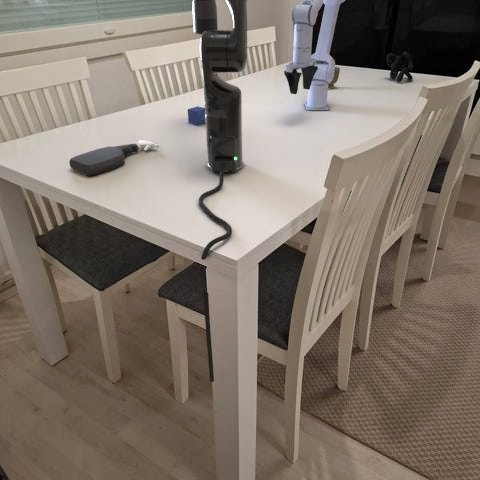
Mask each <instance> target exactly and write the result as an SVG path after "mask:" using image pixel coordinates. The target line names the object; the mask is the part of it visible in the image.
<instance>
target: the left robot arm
mask: <svg viewBox="0 0 480 480" xmlns="http://www.w3.org/2000/svg"><path fill="white" fill-rule="evenodd" d="M191 2H192V3H191V4H192V5H191V13H192V27H193V33H194V34H195V35H200V39H199V57H200V64H201V65H200V66H201V75H202V76H201V77H202V85H203V87H202V89H203V98H204V100H203V101H204V108H205V118H206V123H205V133H206V134H205V135H206V151H207V152H206V153H207V168H208V169H209V170H211V172H212V173H219V183H218V184H217V186H216V187H214V188H212V189H209V190H208V191H207V190H206V191H205V192H203V193H202V194H201V195H200V196H199V197H198V204H199V206H200V208H201V209H202V210H203V211H204V212H205V213H206V214H207V215H208V216H209V217H210V218H211V220H214V221H215V222H217V223H219V224H220V225H222V226H224V227H225V228H226V233H224V234H223V235H222V234H221V235H219V236H218V237H215V238H213V239H212V240H210V241H209V242H208V243H207V244H206V245H205V247H204V249H203V251H202V254H201V260H203V261H205V260H206V259H207V257H208V254H209V251H210V250H211V249H212V247H214V246H215V245H216V244H218V243H220V242H222V241H225V240H227V239H228V238H230V237H231V236H232V234H233V233H232V232H233V229H232V226H231V225H230V223H228V222H227V221H226V220H224V219H222V218H221V217H219V216H218V215H215V213H213V212H212V211H211V210H210V209H209V208H208V207H207V205H205V203H204V199H205V198H206V197H208V196H210V195H213V194H215V193H217V192H218V191H220V190H221V189H222V187H223V185H224V175H225V173H237V171H239V170H240V169H242V168H243V166H244V162H243V161H244V160H243V114H242V113H243V109H242V108H243V106H242V105H243V104H242V103H243V102H242V101H243V100H242V99H243V98H242V96H243V95H242V90H241V89H240V87H239V86H237V85H234V84H232V83H229V82H227V81H225V80H224V79H222V78H221V77H220V76H219V73H220V74H240V73H243V72H244V71H245V69H246V66H247V61H248V0H224V2H225V4H226V7H227V8H228V11H229V13H230V16H231V19H232V25H233V26H232V29H219V28H218V6H217V1H216V0H192V1H191ZM209 297H210V296H209V292H208V291H205V290H203V308H204V322H205V323H204V325H205V339H206V349H207V358H208V361H207V362H208V373H209V382H210V383H213V382H214V381H215V375H214V374H215V373H214V359H213V348H212V333H211V332H212V331H211V319H210V318H211V317H210V301H209V300H210V298H209Z"/></svg>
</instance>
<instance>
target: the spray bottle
mask: <svg viewBox="0 0 480 480" xmlns="http://www.w3.org/2000/svg"><path fill="white" fill-rule="evenodd" d="M159 148H160V145H159V144H158V143H155V142H151V141H148V140H144V139H139V140H138V141H137V142H135V143H129V144H128V143H126V144H122V145H113V146H105V147H100V148H97V149H94V150H90V151H87V152H83V153H81V154H78V155H74V156H73V157H70V159H69V161H68V162H69V167H70V168H71V169H72V170H74V171H75V172H78V173H81V174H83V175H85V176H89V177H90V176H91V177H92V176H95V175H99V174H102V173H105V172H107V171H110V170H113V169H116V168H118V167H120V166H122V165H123V164H124V163H125V158H126V156H127V155H131V154H133V153H138V151H140V150H143V151H144V152H146V151H147V150H149V149H159Z"/></svg>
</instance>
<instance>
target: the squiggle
mask: <svg viewBox="0 0 480 480" xmlns="http://www.w3.org/2000/svg"><path fill="white" fill-rule="evenodd" d="M401 57H402V59H401ZM391 59H392V60H391ZM393 60H394V61H393ZM385 61H386V64H387V67H390V68H391V70H390V72H389V78H390V79H391V80H395V79H396V81H397V82H399V83H400V82H402V81H403V79H404V76H406V78H407V80H408V81H412V80H413V79H414V77H413V75H412V74H411V73H410V72H409V71H410V70H412V69H413V68H414V64H413V61H412V57H411V54H410V53H409V52H408V51H403V53H402V54H401V55H396V54H394V53H392V52H390V53H387V55H386V57H385ZM406 62H407V65H408V66H407V67H405V66H404V65H405V64H406ZM400 70H401V71H400Z"/></svg>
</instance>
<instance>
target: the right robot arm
mask: <svg viewBox="0 0 480 480" xmlns="http://www.w3.org/2000/svg"><path fill="white" fill-rule="evenodd" d="M344 2H346V0H301V2H300V4H299V3H298V4H296V5H294V6H293V8H292V10H291V16H290V18H291V19H290V20H291V25H292V26H291V27H292V28H291V30H292V32H293V44H292V45H293V47H292V48H293V49H292V61H291V62H290V63H288V64H285V70H284V72H283V74H284V76H285V78H286V80H287V84H288V87H289V93H290V94H292V95H297V94H298V91H299V84H300V83H299V82H300V79H301V76H302V89H303V90H307V99H306V101H305V102H304V106H305V109H306V111H329V110H330V108H329V106H328V104H327V103H328V94H329V88H328V83H330V82H331V81H332V80H333V77H334V72H335V67H336V60H335V59H334V58H333V57H332V56H331V55H330V53H331V48H332V44H333V38H334V33H335V29H336V25H337V24H336V23H337V19H338V13H339V11H340V6H341V4H342V3H344ZM323 4H324V9H323V13H322V19H321V25H320V29H319V34H318V37H317V44H316V47H315V52H314V53H312V48H313V47H312V45H313V44H312V43H313V32H314V31H313V29H314V25H316V22H317V17H318V14H319V11H320V9H321V8H322V6H323ZM298 70H300V71H301V72H298Z"/></svg>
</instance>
